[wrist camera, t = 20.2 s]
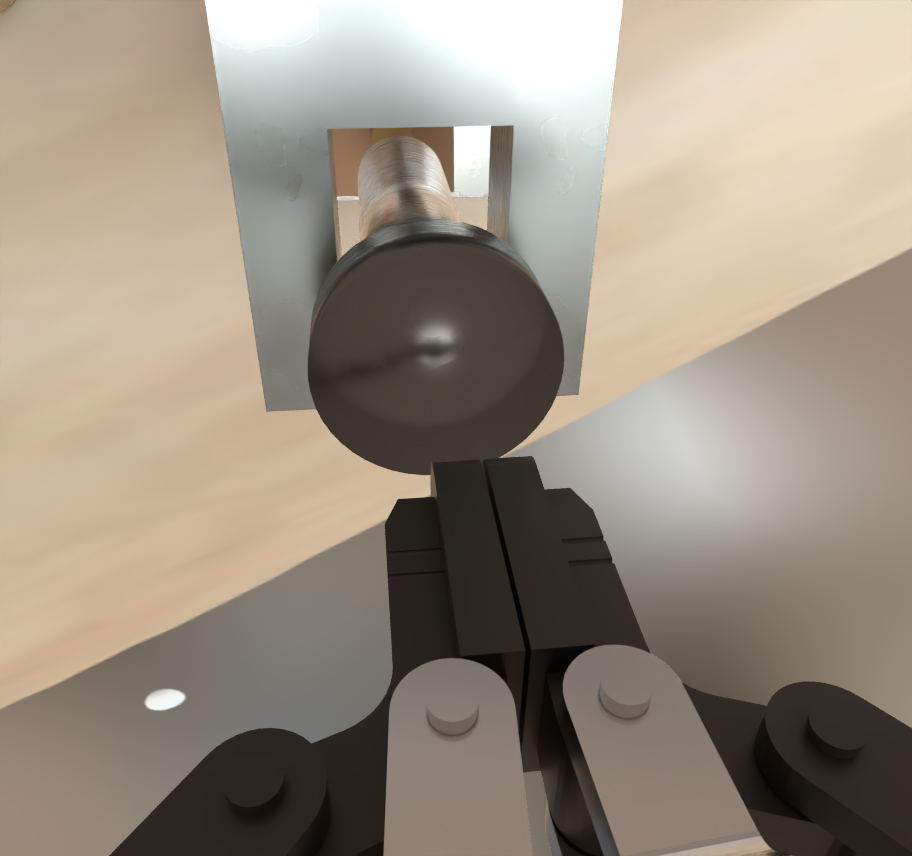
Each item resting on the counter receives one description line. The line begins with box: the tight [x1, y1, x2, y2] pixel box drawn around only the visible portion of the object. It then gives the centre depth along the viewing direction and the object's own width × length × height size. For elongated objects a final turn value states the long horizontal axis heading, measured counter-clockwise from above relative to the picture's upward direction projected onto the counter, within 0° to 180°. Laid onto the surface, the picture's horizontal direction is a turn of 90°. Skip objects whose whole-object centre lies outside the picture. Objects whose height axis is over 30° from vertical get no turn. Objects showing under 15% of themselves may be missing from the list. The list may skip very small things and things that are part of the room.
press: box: [205, 0, 623, 412], centre depth 28 cm, size 14×16×30 cm
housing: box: [332, 127, 454, 197], centre depth 35 cm, size 5×5×12 cm
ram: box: [307, 135, 564, 475], centre depth 20 cm, size 5×5×13 cm
